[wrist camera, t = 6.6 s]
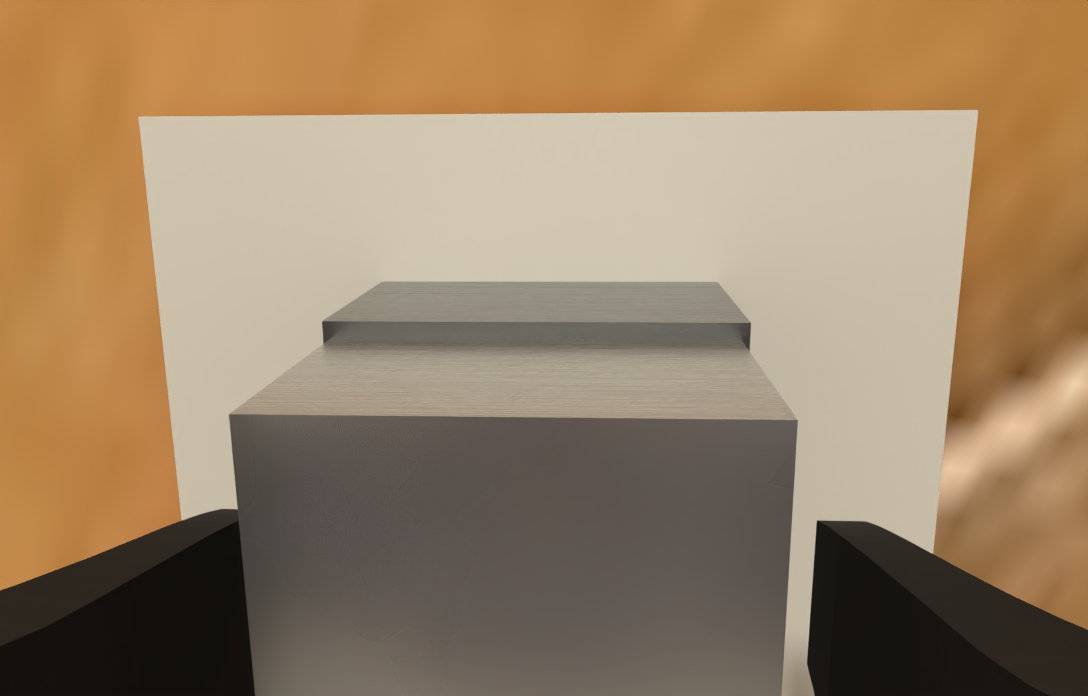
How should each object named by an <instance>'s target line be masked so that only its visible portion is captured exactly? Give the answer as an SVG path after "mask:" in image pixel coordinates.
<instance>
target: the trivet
mask: <svg viewBox="0 0 1088 696" xmlns="http://www.w3.org/2000/svg"><path fill="white" fill-rule="evenodd" d="M977 117H978V110H916V111H791V112H666V113H541V114H416V115H291V116H166V117H139V126H140V135H141V145H142V154H143V163H144V173H145V182H146V191H147V201H148V210H149V219H150V229H151V238H152V247H153V257H154V266H155V275H156V285H157V294H158V303H159V313H160V322H161V331H162V341H163V350H164V360H165V369H166V378H167V388H168V397H169V406H170V416H171V425H172V434H173V444H174V453H175V462H176V472H177V481H178V490H179V500H180V509H181V518H182V520H185V519H188V518H190V517H193V516H196V515H199V514H203V513H206V512H210V511H215V510H219V509H238V507H237V497H236V486H235V475H234V465H233V454H232V443H231V433H230V422H229V414H230V413H231V412H232V411H234V410H235V409H236V408H238V407H239V406H240V405H242V404H243V403H244V402H246V401H247V400H248V399H250V398H251V397H253V396H254V395H255V394H257V393H258V392H259V391H261V390H262V389H263V388H265V387H266V386H267V385H269V384H270V383H271V382H273V381H274V380H275V379H277V378H278V377H279V376H281V375H282V374H283V373H285V372H286V371H287V370H289V369H290V368H291V367H293V366H294V365H296V364H297V363H298V362H300V361H301V360H302V359H304V358H305V357H306V356H308V355H309V354H310V353H312V352H313V351H314V350H316V349H317V348H318V347H320V346H321V345H322V344H323V330H322V321H323V320H325V319H326V318H328V317H329V316H331V315H332V314H334V313H335V312H337V311H338V310H340V309H341V308H343V307H344V306H346V305H347V304H349V303H350V302H352V301H353V300H355V299H356V298H358V297H359V296H361V295H363V294H364V293H366V292H367V291H369V290H370V289H372V288H373V287H375V286H376V285H378V284H379V283H381V282H382V281H408V282H718V283H719V284H720V286H721V287H722V288H723V289H724V291H725V292H726V293H727V294H728V295H729V297H730V298H731V299H732V300H733V302H734V303H735V304H736V305H737V306H738V308H739V309H740V310H741V311H742V312H743V314H744V315H745V316H746V317H747V319H748V320H749V321H750V322H751V334H750V353H751V354H752V356H753V357H754V358H755V360H756V361H757V363H758V364H759V365H760V367H761V368H762V370H763V371H764V373H765V374H766V375H767V377H768V378H769V380H770V381H771V382H772V384H773V385H774V387H775V388H776V390H777V391H778V392H779V394H780V395H781V397H782V398H783V400H784V401H785V402H786V404H787V405H788V407H789V408H790V409H791V411H792V412H793V414H794V415H795V417H796V418H797V419H798V427H797V444H796V461H795V478H794V495H793V511H792V528H791V545H790V562H789V579H788V596H787V612H786V629H785V646H784V663H783V680H782V696H815V695H814V690H813V686H812V682H811V678H810V674H809V670H808V666H807V655H808V641H809V626H810V612H811V597H812V583H813V568H814V554H815V539H816V525H817V520H823V521H866V522H869V523H872V524H875V525H877V526H880V527H882V528H884V529H886V530H888V531H891V532H892V533H894V534H896V535H898V536H900V537H902V538H904V539H906V540H908V541H910V542H912V543H914V544H915V545H917V546H919V547H921V548H923V549H925V550H926V551H928V552H930V553H932V554H933V548H934V538H935V528H936V518H937V509H938V499H939V489H940V479H941V470H942V460H943V450H944V440H945V430H946V421H947V411H948V401H949V391H950V381H951V372H952V362H953V352H954V342H955V333H956V323H957V313H958V303H959V293H960V284H961V274H962V264H963V254H964V244H965V235H966V225H967V215H968V205H969V196H970V186H971V176H972V166H973V156H974V147H975V137H976V127H977Z"/></svg>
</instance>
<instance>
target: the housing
mask: <svg viewBox="0 0 1088 696" xmlns="http://www.w3.org/2000/svg"><path fill="white" fill-rule="evenodd" d="M322 330H323V344H322V345H321V346H320V347H318V348H317V349H316V350H314V351H313V352H312V353H310V354H309V355H308V356H306V357H305V358H304V359H302V360H301V361H300V362H298V363H297V364H296V365H294V366H293V367H291V368H290V369H289V370H287V371H286V372H285V373H283V374H282V375H281V376H279V377H278V378H277V379H275V380H274V381H273V382H271V383H270V384H269V385H267V386H266V387H265V388H263V389H262V390H261V391H259V392H258V393H257V394H255V395H254V396H253V397H251V398H250V399H248V400H247V401H246V402H244V403H243V404H242V405H240V406H239V407H238V408H236V409H235V410H234V411H232V412H231V413H230V414H229V422H230V433H231V443H232V454H233V465H234V475H235V486H236V497H237V507H238V518H239V529H240V539H241V550H242V561H243V571H244V582H245V593H246V603H247V614H248V624H249V635H250V646H251V656H252V667H253V678H254V688H255V696H782V680H783V663H784V646H785V629H786V612H787V596H788V579H789V562H790V545H791V528H792V511H793V495H794V478H795V461H796V444H797V427H798V419H797V418H796V417H795V415H794V414H793V412H792V411H791V409H790V408H789V407H788V405H787V404H786V402H785V401H784V400H783V398H782V397H781V395H780V394H779V392H778V391H777V390H776V388H775V387H774V385H773V384H772V382H771V381H770V380H769V378H768V377H767V375H766V374H765V373H764V371H763V370H762V368H761V367H760V365H759V364H758V363H757V361H756V360H755V358H754V357H753V356H752V354H751V353H750V334H751V322H750V321H749V320H748V319H747V317H746V316H745V315H744V314H743V312H742V311H741V310H740V309H739V308H738V306H737V305H736V304H735V303H734V302H733V300H732V299H731V298H730V297H729V295H728V294H727V293H726V292H725V291H724V289H723V288H722V287H721V286H720V284H719V283H718V282H408V281H382V282H381V283H379V284H378V285H376V286H375V287H373V288H372V289H370V290H369V291H367V292H366V293H364V294H363V295H361V296H359V297H358V298H356V299H355V300H353V301H352V302H350V303H349V304H347V305H346V306H344V307H343V308H341V309H340V310H338V311H337V312H335V313H334V314H332V315H331V316H329V317H328V318H326V319H325V320H323V321H322Z"/></svg>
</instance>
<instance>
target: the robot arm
mask: <svg viewBox="0 0 1088 696" xmlns="http://www.w3.org/2000/svg"><path fill="white" fill-rule="evenodd" d="M807 666H808V670H809V674H810V678H811V682H812V686H813V690H814V695H815V696H1088V630H1086V629H1084V628H1082V627H1079V626H1077V625H1075V624H1072V623H1070V622H1068V621H1065V620H1063V619H1061V618H1058V617H1056V616H1054V615H1052V614H1050V613H1048V612H1046V611H1044V610H1041V609H1039V608H1037V607H1035V606H1033V605H1031V604H1029V603H1027V602H1024V601H1022V600H1020V599H1018V598H1016V597H1014V596H1012V595H1010V594H1008V593H1006V592H1004V591H1002V590H1000V589H998V588H996V587H994V586H992V585H990V584H988V583H986V582H984V581H982V580H980V579H978V578H976V577H975V576H973V575H971V574H969V573H967V572H965V571H963V570H961V569H960V568H958V567H956V566H954V565H952V564H950V563H948V562H947V561H945V560H943V559H941V558H939V557H937V556H936V555H934V554H932V553H930V552H928V551H926V550H925V549H923V548H921V547H919V546H917V545H915V544H914V543H912V542H910V541H908V540H906V539H904V538H902V537H900V536H898V535H896V534H894V533H892V532H891V531H888V530H886V529H884V528H882V527H880V526H877V525H875V524H872V523H869V522H866V521H823V520H817V525H816V539H815V554H814V568H813V583H812V597H811V612H810V626H809V641H808V655H807ZM0 696H255V688H254V678H253V667H252V656H251V646H250V635H249V624H248V614H247V603H246V593H245V582H244V571H243V561H242V550H241V539H240V529H239V518H238V509H219V510H215V511H210V512H206V513H203V514H199V515H196V516H193V517H190V518H188V519H185V520H182V521H179V522H177V523H174V524H172V525H169V526H166V527H164V528H161V529H159V530H156V531H154V532H151V533H149V534H146V535H144V536H142V537H139V538H137V539H134V540H132V541H129V542H127V543H124V544H122V545H119V546H117V547H115V548H112V549H110V550H107V551H105V552H102V553H100V554H97V555H95V556H92V557H90V558H87V559H85V560H82V561H79V562H77V563H74V564H71V565H69V566H66V567H63V568H61V569H58V570H55V571H53V572H50V573H47V574H45V575H42V576H39V577H37V578H34V579H31V580H29V581H26V582H23V583H21V584H18V585H15V586H12V587H10V588H7V589H4V590H1V591H0Z"/></svg>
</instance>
